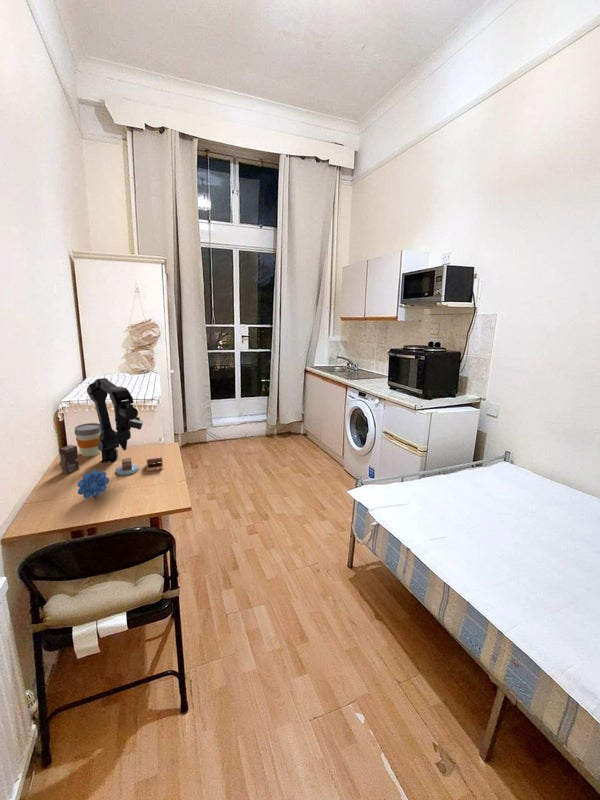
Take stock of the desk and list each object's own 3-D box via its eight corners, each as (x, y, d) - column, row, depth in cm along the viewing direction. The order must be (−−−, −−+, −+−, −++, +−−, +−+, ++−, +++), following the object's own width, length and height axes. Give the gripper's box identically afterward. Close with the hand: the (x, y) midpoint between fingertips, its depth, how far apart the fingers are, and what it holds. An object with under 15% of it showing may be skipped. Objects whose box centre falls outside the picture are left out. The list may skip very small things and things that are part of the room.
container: (147, 470, 171) (146, 459, 170) (146, 464, 178) (145, 453, 176) (163, 468, 174) (162, 457, 173) (162, 462, 181) (161, 451, 179)
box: (68, 474, 166) (64, 450, 163) (61, 472, 167) (58, 448, 164) (80, 469, 171) (77, 445, 168) (74, 467, 173) (70, 444, 170)
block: (131, 469, 170) (131, 460, 168) (122, 470, 168) (121, 462, 167) (131, 466, 173) (130, 457, 172) (122, 467, 171) (121, 458, 170)
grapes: (110, 489, 153) (107, 463, 150) (111, 496, 148) (108, 470, 145) (79, 495, 147) (75, 469, 144) (78, 503, 142) (74, 476, 139)
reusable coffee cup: (96, 458, 183) (92, 431, 180) (72, 457, 183) (68, 430, 180) (109, 449, 195) (106, 423, 192) (86, 448, 196) (83, 422, 192)
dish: (113, 476, 165) (112, 473, 165) (119, 466, 174) (118, 464, 174) (136, 474, 167) (135, 472, 167) (140, 465, 176) (140, 463, 176)
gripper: (141, 419, 159) (144, 451, 163) (140, 408, 175) (143, 438, 179) (113, 421, 154) (117, 454, 158) (115, 410, 171) (118, 440, 174)
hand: (125, 446), depth 168 cm, fingers open, 9 cm apart
